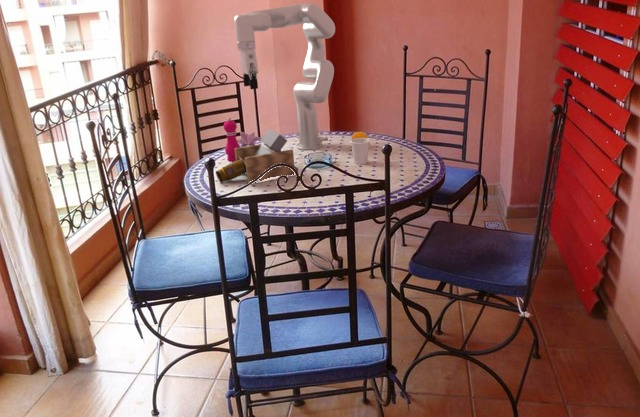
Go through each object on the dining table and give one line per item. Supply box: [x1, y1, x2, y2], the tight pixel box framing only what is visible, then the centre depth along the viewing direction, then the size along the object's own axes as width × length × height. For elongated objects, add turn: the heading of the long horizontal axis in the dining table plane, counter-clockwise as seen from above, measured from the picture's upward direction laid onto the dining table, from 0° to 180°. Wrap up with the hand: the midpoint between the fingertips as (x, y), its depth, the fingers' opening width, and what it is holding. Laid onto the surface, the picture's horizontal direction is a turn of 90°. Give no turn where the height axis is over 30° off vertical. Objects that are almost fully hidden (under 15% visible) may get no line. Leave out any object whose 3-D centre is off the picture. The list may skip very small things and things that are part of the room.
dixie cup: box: [350, 137, 371, 166], centre depth 236 cm, size 8×8×10 cm
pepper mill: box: [223, 117, 241, 163], centre depth 251 cm, size 7×7×20 cm
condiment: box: [215, 157, 247, 184], centre depth 224 cm, size 7×8×12 cm
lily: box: [236, 131, 263, 147], centre depth 268 cm, size 12×12×10 cm
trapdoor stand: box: [235, 142, 299, 184], centre depth 229 cm, size 21×18×11 cm
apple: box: [350, 131, 369, 141], centre depth 260 cm, size 8×8×8 cm
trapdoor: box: [245, 128, 288, 175], centre depth 228 cm, size 21×14×4 cm
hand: (251, 87), depth 233 cm, fingers open, 9 cm apart
